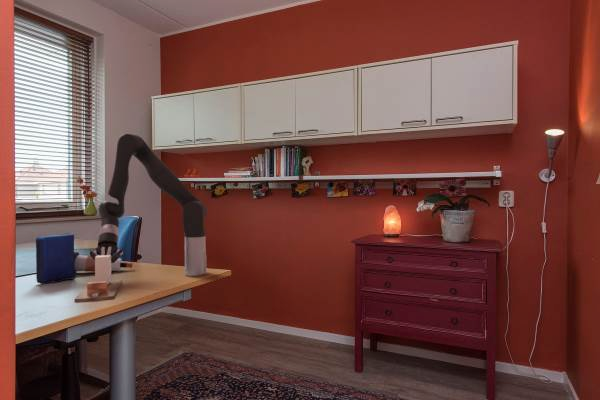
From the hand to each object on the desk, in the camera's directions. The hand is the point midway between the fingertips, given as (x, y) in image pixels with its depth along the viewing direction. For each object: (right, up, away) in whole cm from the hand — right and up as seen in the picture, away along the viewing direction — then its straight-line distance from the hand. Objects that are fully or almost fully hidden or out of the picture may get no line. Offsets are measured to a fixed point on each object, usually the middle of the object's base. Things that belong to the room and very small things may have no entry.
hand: (104, 270), depth 152 cm
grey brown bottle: (-19, -6, +25) cm, 32 cm away
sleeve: (+1, -5, -3) cm, 5 cm away
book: (-24, -6, +7) cm, 26 cm away
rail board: (+3, -6, -10) cm, 12 cm away
